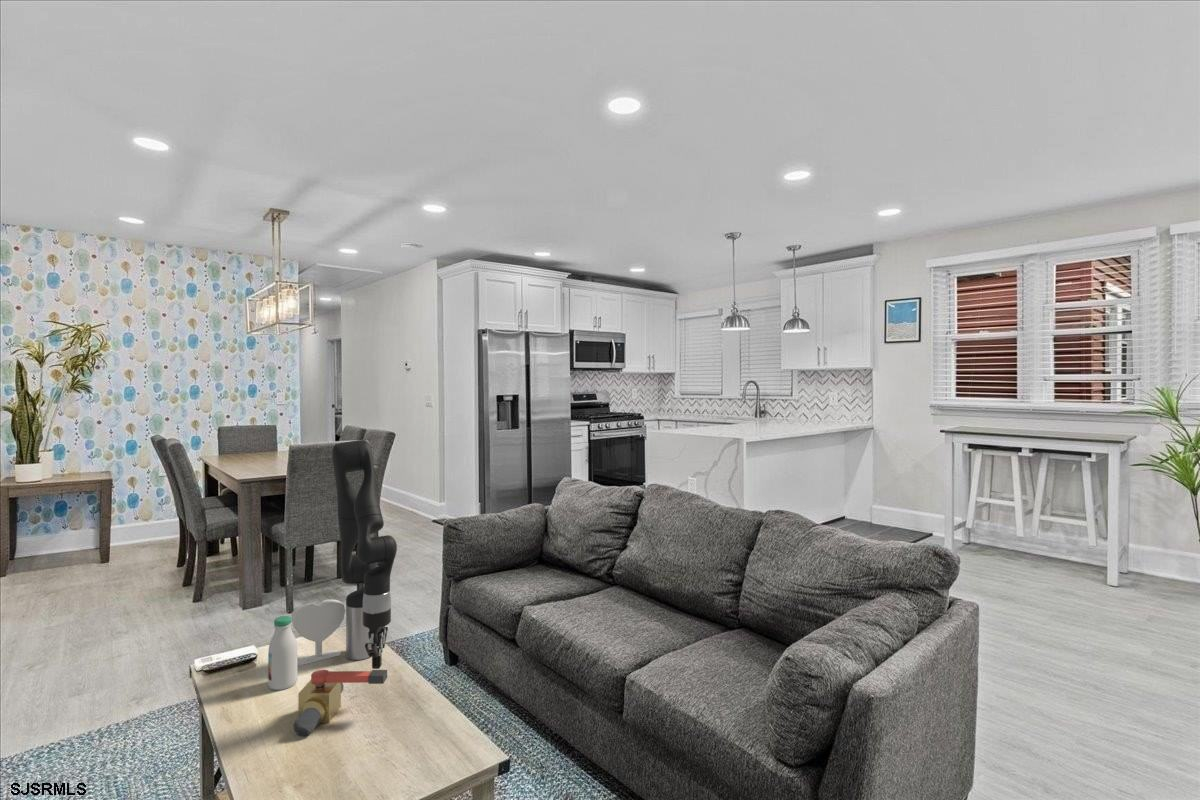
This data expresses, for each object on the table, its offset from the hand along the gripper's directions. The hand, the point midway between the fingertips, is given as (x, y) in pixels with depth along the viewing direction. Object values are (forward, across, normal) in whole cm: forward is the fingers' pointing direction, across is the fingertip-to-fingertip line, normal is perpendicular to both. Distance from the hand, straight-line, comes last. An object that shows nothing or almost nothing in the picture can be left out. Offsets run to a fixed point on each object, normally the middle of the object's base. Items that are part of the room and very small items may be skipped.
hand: (376, 667), depth 172 cm
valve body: (+10, +7, -13) cm, 18 cm away
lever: (+1, +7, -5) cm, 9 cm away
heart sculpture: (+10, -28, -28) cm, 41 cm away
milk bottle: (+10, -10, -31) cm, 34 cm away
